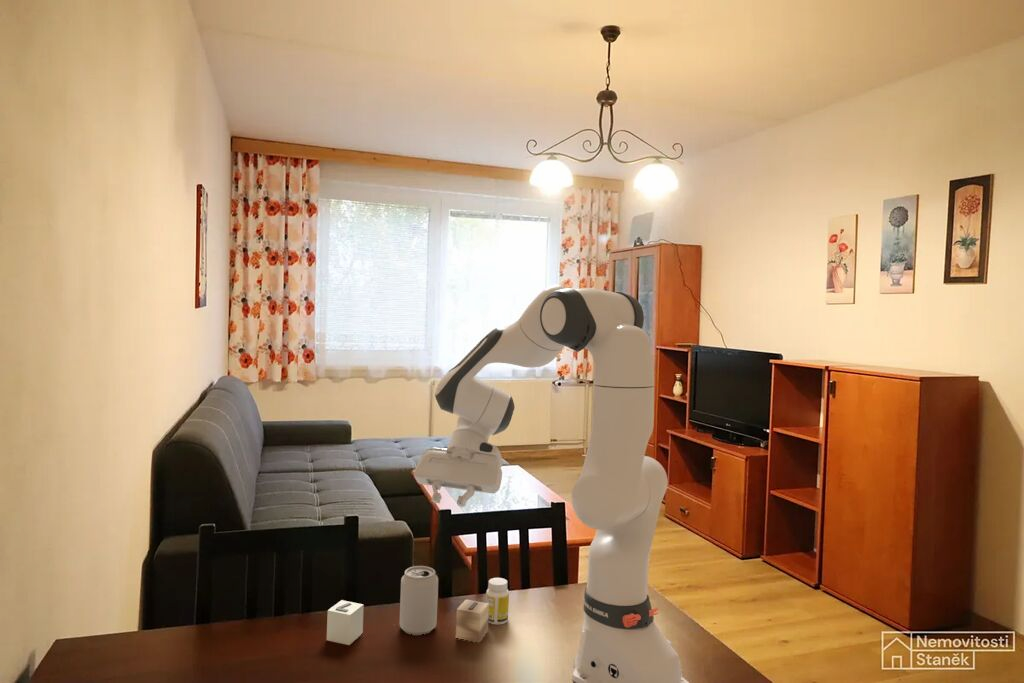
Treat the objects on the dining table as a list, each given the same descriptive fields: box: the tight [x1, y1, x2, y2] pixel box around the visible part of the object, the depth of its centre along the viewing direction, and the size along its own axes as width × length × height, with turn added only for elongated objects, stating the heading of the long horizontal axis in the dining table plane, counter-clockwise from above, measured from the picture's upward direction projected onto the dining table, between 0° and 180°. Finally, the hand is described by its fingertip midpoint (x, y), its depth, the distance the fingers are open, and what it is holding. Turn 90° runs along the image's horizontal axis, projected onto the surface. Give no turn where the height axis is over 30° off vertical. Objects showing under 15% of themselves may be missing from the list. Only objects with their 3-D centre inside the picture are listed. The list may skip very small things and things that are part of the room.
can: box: [399, 565, 439, 636], centre depth 138 cm, size 8×8×12 cm
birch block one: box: [455, 598, 489, 644], centre depth 136 cm, size 5×5×6 cm
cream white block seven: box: [326, 599, 365, 646], centre depth 133 cm, size 5×5×6 cm
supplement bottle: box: [485, 577, 510, 626], centre depth 143 cm, size 5×5×8 cm
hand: (447, 503), depth 150 cm, fingers open, 5 cm apart
